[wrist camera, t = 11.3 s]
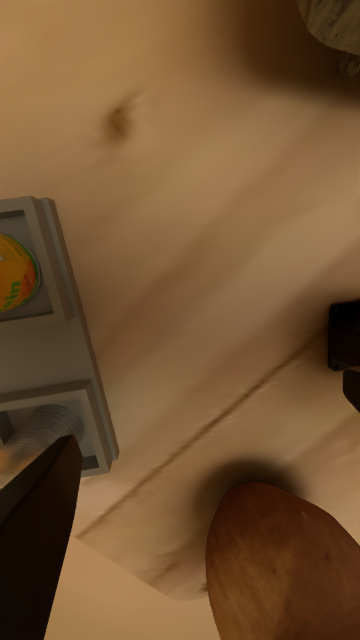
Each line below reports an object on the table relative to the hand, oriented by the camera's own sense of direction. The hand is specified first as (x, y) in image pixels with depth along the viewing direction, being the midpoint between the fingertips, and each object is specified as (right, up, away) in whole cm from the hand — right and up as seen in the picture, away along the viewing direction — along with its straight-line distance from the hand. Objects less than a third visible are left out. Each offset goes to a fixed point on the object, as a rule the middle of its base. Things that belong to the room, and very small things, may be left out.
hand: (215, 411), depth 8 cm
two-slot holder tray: (-13, 0, +12) cm, 18 cm away
